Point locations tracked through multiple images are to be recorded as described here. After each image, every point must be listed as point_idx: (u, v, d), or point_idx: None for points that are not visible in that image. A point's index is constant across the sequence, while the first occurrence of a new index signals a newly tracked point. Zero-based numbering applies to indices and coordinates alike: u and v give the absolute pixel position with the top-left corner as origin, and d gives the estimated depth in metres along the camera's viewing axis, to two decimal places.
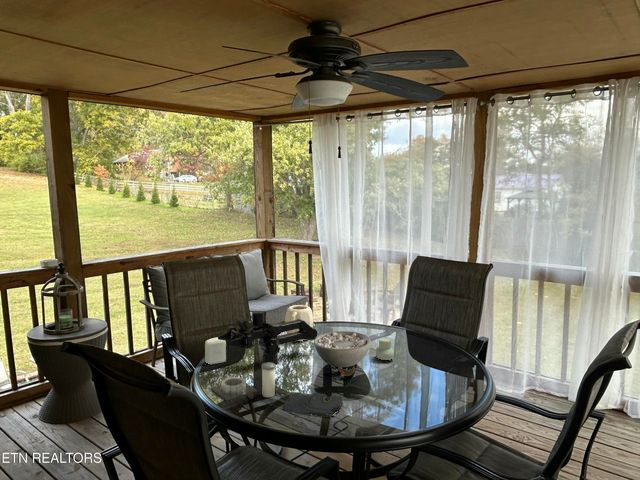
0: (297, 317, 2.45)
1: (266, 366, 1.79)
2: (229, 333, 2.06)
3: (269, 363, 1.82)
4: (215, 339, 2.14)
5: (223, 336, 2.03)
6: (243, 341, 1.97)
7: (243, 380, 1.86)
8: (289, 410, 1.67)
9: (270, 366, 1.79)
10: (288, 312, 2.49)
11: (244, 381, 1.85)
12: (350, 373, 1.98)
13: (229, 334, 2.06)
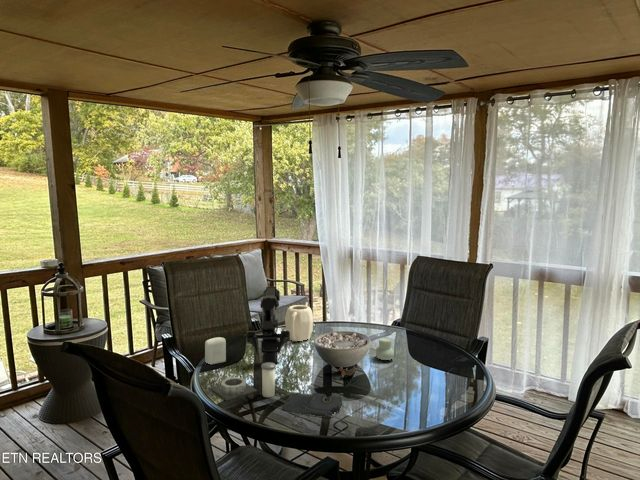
0: (297, 317, 2.45)
1: (266, 366, 1.79)
2: None
3: (269, 363, 1.82)
4: (215, 339, 2.14)
5: None
6: (284, 340, 1.93)
7: (243, 380, 1.86)
8: (288, 411, 1.67)
9: (270, 366, 1.79)
10: (288, 312, 2.49)
11: (244, 381, 1.85)
12: (351, 373, 1.99)
13: (256, 341, 1.92)
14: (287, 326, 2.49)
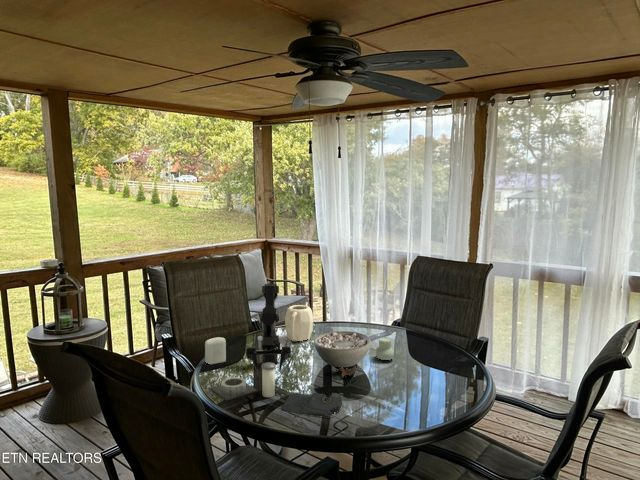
0: (297, 317, 2.45)
1: (266, 366, 1.79)
2: (256, 357, 1.85)
3: (269, 363, 1.82)
4: (215, 339, 2.14)
5: None
6: (285, 356, 1.87)
7: (243, 380, 1.86)
8: (288, 411, 1.67)
9: (270, 366, 1.79)
10: (288, 312, 2.49)
11: (244, 381, 1.85)
12: (351, 372, 1.99)
13: (256, 357, 1.85)
14: (287, 326, 2.49)
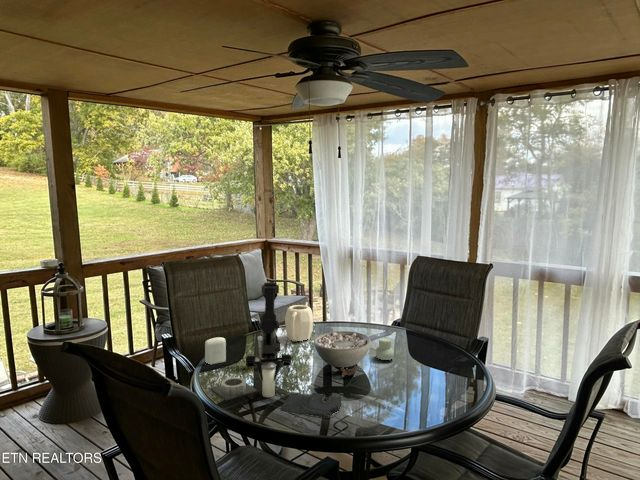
0: (297, 317, 2.45)
1: (266, 366, 1.79)
2: (260, 365, 1.82)
3: (269, 363, 1.82)
4: (215, 339, 2.14)
5: (261, 373, 1.81)
6: (280, 364, 1.84)
7: (243, 380, 1.86)
8: (287, 410, 1.67)
9: (270, 366, 1.79)
10: (288, 312, 2.49)
11: (244, 381, 1.85)
12: (352, 372, 1.99)
13: (260, 365, 1.83)
14: (287, 326, 2.49)
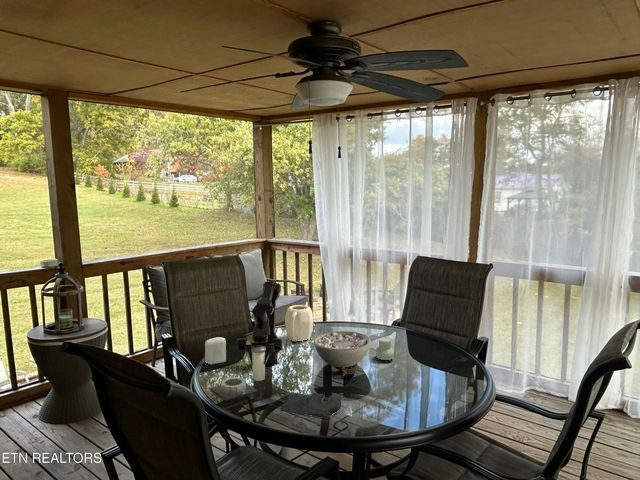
0: (297, 317, 2.45)
1: (256, 349, 1.78)
2: None
3: (260, 347, 1.82)
4: (215, 339, 2.14)
5: None
6: (271, 348, 1.83)
7: (243, 380, 1.86)
8: (287, 411, 1.67)
9: (260, 349, 1.78)
10: (288, 312, 2.49)
11: (244, 381, 1.85)
12: (352, 372, 2.00)
13: None
14: (287, 326, 2.49)
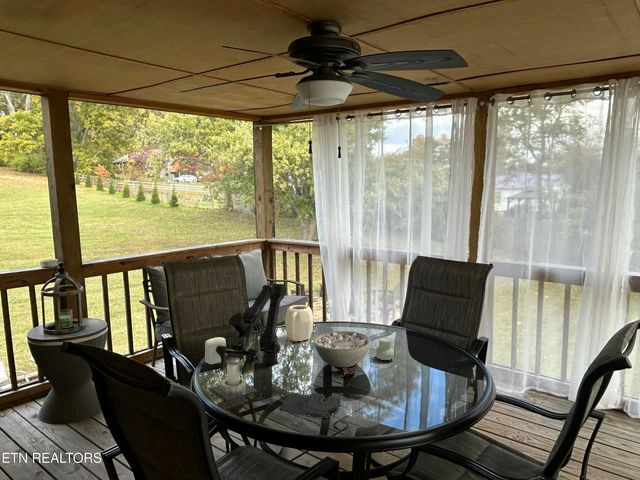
0: (297, 317, 2.45)
1: (229, 361, 1.82)
2: (224, 356, 1.87)
3: (235, 358, 1.85)
4: (215, 339, 2.14)
5: (223, 364, 1.86)
6: (252, 358, 1.85)
7: (243, 380, 1.86)
8: (286, 411, 1.67)
9: (233, 361, 1.82)
10: (288, 312, 2.49)
11: (244, 381, 1.85)
12: (353, 371, 2.00)
13: (225, 356, 1.88)
14: (287, 326, 2.49)
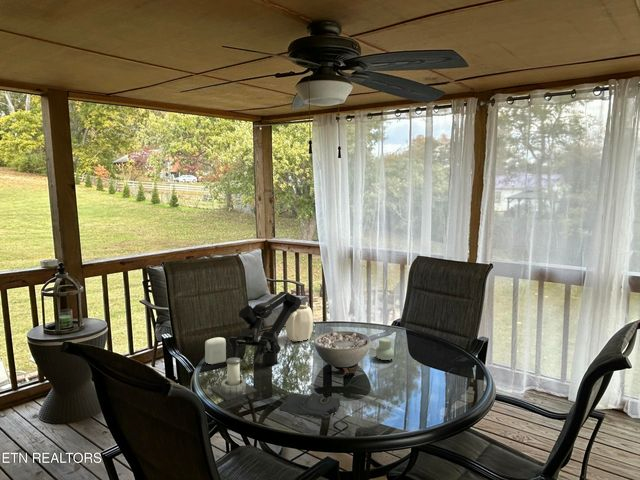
0: (297, 317, 2.45)
1: (230, 361, 1.83)
2: (236, 346, 1.97)
3: (236, 358, 1.85)
4: (215, 339, 2.14)
5: (235, 354, 1.96)
6: (262, 349, 1.95)
7: (243, 380, 1.86)
8: (285, 411, 1.67)
9: (233, 361, 1.82)
10: None
11: (244, 381, 1.85)
12: (354, 371, 2.01)
13: (237, 347, 1.98)
14: (287, 326, 2.49)
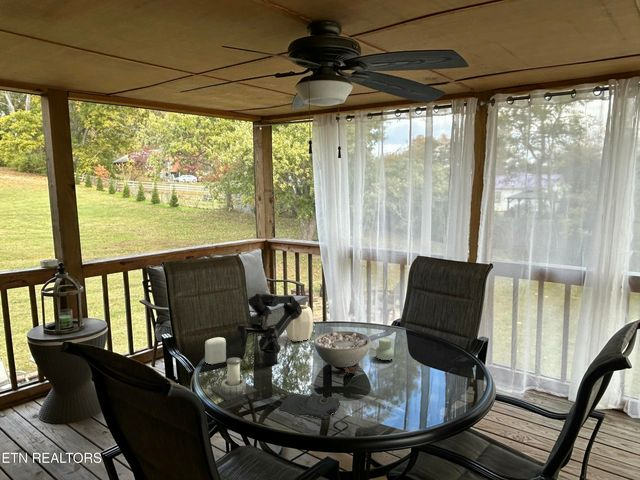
0: None
1: (230, 361, 1.83)
2: (245, 334, 2.01)
3: (236, 358, 1.85)
4: (215, 339, 2.14)
5: (244, 341, 1.99)
6: (270, 336, 1.99)
7: (243, 380, 1.86)
8: (285, 411, 1.67)
9: (233, 361, 1.82)
10: None
11: (244, 381, 1.85)
12: (354, 370, 2.01)
13: (245, 334, 2.01)
14: (287, 326, 2.49)
